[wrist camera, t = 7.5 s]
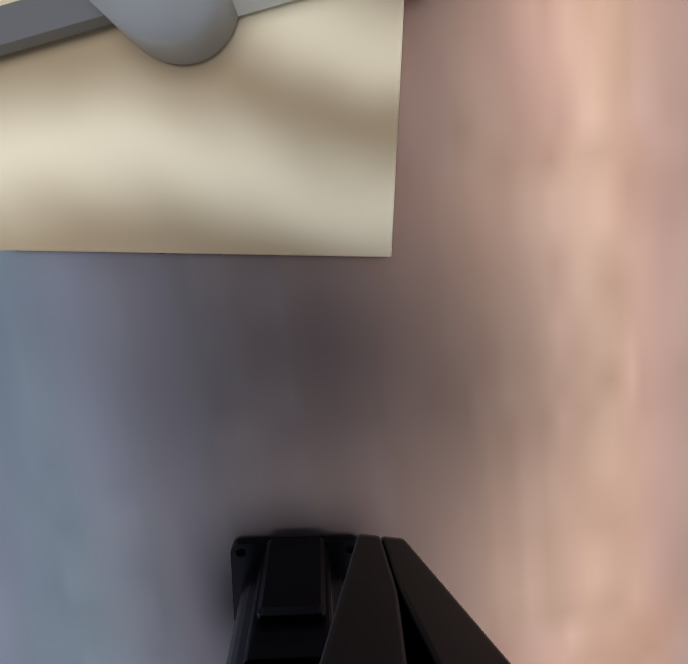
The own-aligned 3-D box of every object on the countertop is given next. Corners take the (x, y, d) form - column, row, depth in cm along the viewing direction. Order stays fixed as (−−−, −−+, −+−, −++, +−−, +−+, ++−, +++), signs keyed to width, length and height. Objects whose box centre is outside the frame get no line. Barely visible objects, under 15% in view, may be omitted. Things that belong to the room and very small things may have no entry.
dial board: (387, 255, 18) (391, 257, 17) (-69, 246, 17) (-95, 248, 16) (403, -83, 15) (409, -106, 14) (-152, -123, 14) (-191, -152, 13)
